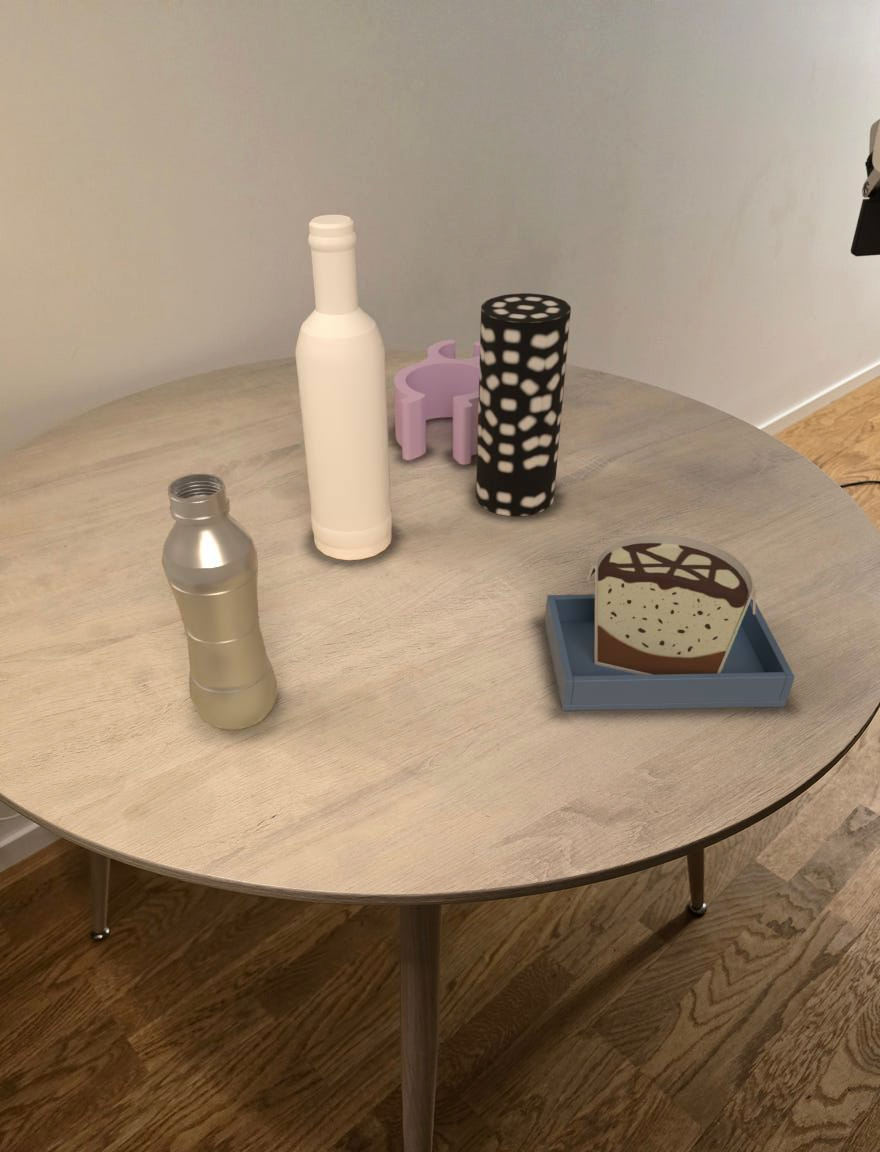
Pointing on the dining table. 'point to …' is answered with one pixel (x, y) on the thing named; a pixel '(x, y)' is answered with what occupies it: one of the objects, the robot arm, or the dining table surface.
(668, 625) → the food container
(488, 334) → the white-spotted black cylinder
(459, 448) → the clip
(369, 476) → the bottle
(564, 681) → the tray
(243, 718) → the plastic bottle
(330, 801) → the dining table surface
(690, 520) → the dining table surface
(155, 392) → the dining table surface
